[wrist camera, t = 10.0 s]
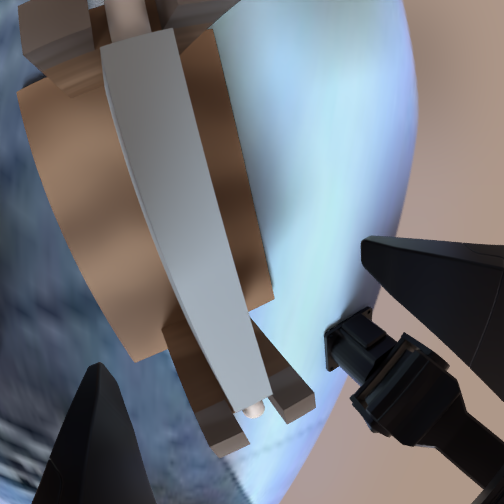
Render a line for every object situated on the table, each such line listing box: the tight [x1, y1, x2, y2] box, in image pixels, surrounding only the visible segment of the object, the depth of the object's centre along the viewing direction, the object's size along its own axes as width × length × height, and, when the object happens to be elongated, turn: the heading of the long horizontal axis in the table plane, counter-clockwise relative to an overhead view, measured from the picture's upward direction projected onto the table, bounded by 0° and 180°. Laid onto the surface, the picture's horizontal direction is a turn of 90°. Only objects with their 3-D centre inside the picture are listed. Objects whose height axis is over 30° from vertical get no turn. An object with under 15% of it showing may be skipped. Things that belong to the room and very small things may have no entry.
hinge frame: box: [17, 0, 316, 458], centre depth 14 cm, size 20×12×11 cm, turn 13°
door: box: [100, 0, 273, 418], centre depth 13 cm, size 19×2×8 cm, turn 13°
